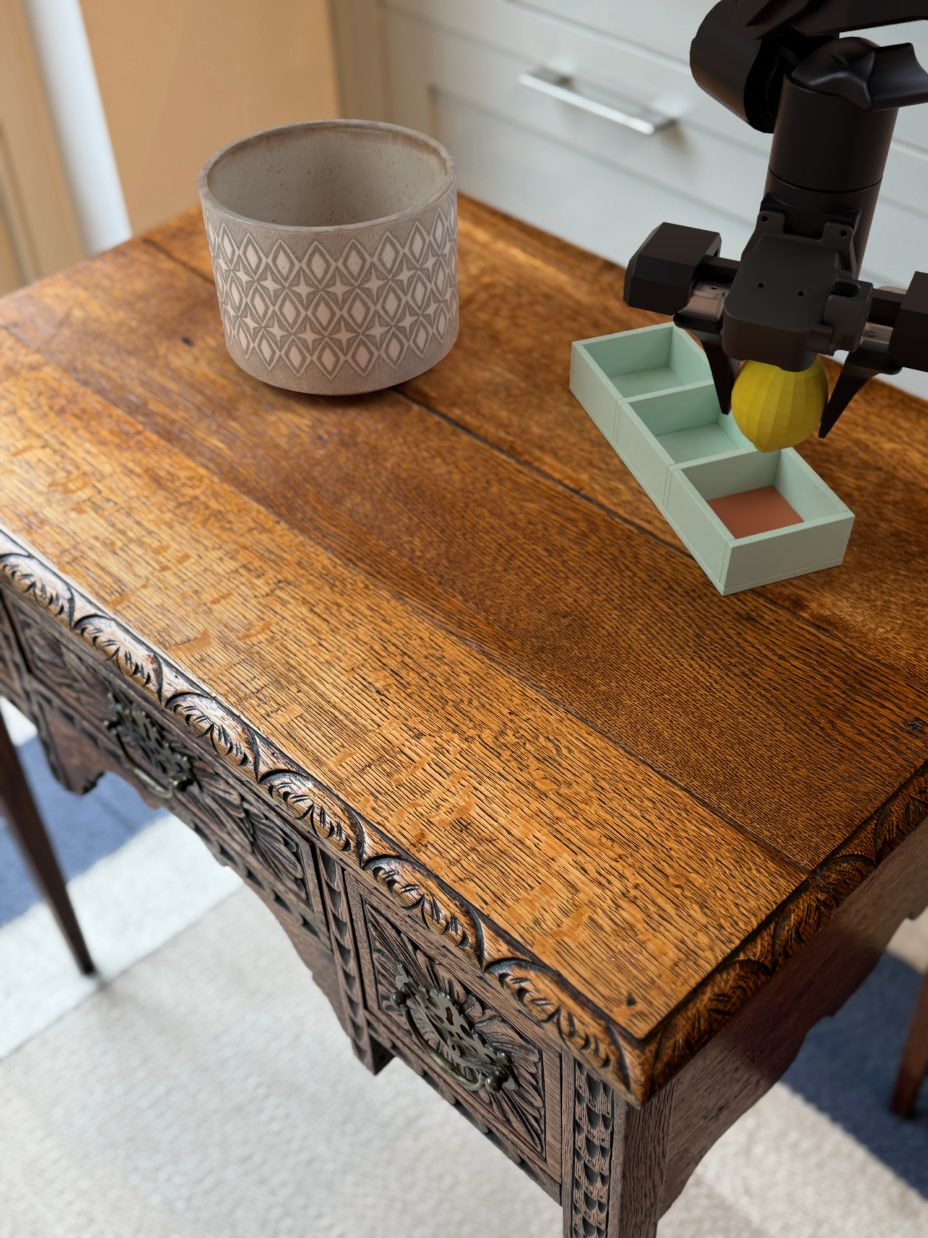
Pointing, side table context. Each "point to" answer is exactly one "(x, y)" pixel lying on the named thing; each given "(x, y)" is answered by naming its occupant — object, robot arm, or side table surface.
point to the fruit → (778, 403)
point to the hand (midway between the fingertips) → (773, 422)
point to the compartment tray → (706, 461)
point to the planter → (334, 253)
